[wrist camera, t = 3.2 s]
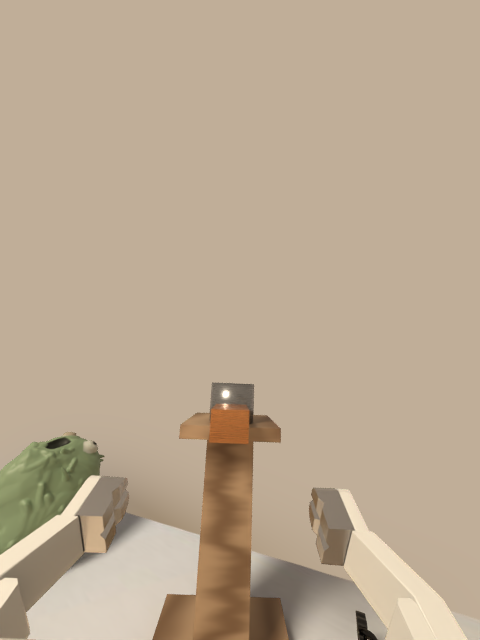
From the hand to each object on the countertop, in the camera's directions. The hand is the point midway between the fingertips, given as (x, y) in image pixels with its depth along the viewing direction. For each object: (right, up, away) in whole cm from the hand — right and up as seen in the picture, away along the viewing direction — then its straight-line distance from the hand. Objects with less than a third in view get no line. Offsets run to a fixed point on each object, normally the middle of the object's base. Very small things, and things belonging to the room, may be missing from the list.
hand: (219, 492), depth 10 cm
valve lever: (0, -5, +16) cm, 17 cm away
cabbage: (-36, -34, +28) cm, 57 cm away
